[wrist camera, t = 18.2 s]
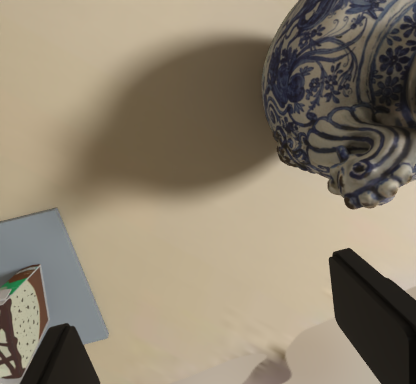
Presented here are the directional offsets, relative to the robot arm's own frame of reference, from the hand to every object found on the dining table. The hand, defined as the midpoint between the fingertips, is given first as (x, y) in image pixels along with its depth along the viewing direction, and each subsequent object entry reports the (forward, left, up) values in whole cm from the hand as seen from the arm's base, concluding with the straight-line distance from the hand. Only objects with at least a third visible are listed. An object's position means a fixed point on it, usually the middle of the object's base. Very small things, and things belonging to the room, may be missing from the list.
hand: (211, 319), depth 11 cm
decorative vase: (-5, +18, -32) cm, 37 cm away
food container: (+14, -27, -32) cm, 44 cm away
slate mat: (+14, -26, -32) cm, 44 cm away
